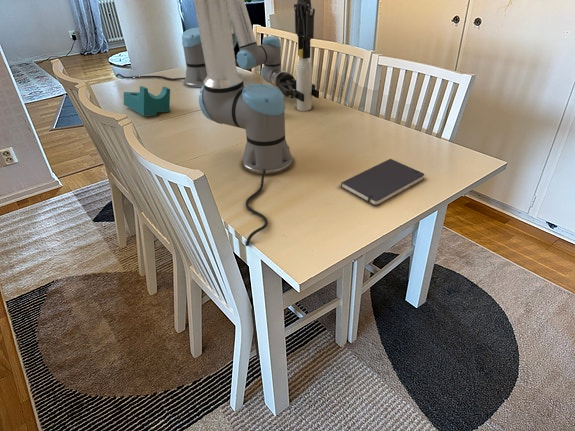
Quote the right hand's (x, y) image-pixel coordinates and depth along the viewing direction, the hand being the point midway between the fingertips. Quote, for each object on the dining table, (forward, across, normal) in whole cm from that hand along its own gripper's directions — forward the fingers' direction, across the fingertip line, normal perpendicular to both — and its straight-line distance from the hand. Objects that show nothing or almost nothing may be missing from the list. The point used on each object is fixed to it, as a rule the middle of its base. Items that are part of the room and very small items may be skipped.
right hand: (304, 56), depth 152 cm
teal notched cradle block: (+20, +25, +59) cm, 67 cm away
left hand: (+14, -5, -1) cm, 15 cm away
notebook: (+20, -63, +2) cm, 66 cm away
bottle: (+20, 0, 0) cm, 20 cm away
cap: (-2, 0, 0) cm, 2 cm away
